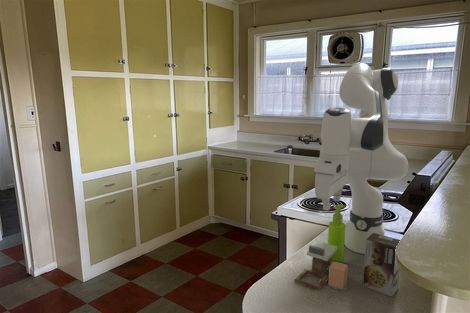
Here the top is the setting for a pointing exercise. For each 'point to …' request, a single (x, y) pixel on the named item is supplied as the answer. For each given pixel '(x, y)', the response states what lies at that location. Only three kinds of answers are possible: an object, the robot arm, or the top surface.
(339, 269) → the terracotta block
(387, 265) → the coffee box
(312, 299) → the top surface
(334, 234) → the soap dispenser
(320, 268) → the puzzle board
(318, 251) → the sliding lid
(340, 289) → the slate coaster
